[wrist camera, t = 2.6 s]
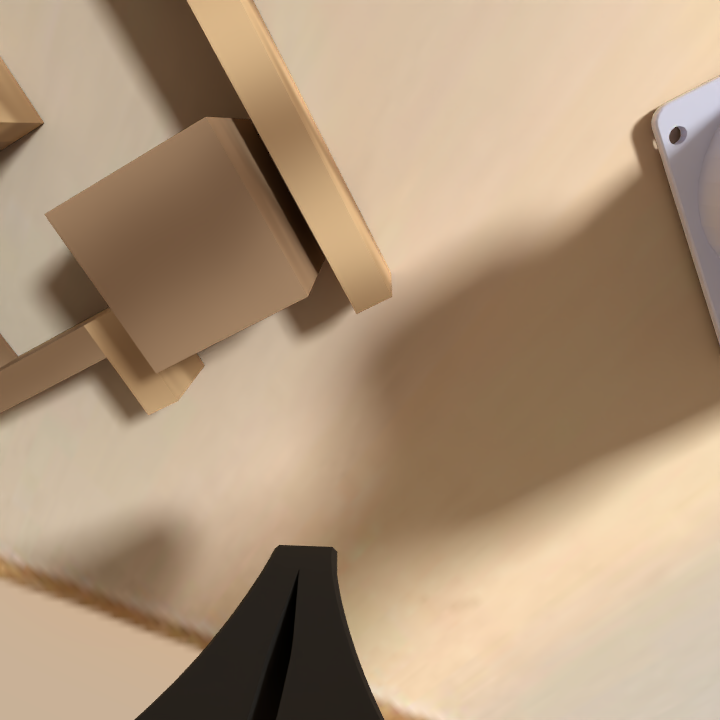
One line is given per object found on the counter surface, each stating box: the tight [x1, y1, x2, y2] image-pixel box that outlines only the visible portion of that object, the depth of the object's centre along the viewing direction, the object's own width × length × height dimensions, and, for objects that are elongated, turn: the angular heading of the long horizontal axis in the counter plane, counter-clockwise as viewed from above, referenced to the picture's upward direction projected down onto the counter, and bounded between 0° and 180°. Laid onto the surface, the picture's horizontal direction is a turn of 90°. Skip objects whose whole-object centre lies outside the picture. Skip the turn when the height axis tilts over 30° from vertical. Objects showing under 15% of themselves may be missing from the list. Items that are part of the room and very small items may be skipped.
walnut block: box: [44, 117, 325, 373], centre depth 17 cm, size 5×5×5 cm
